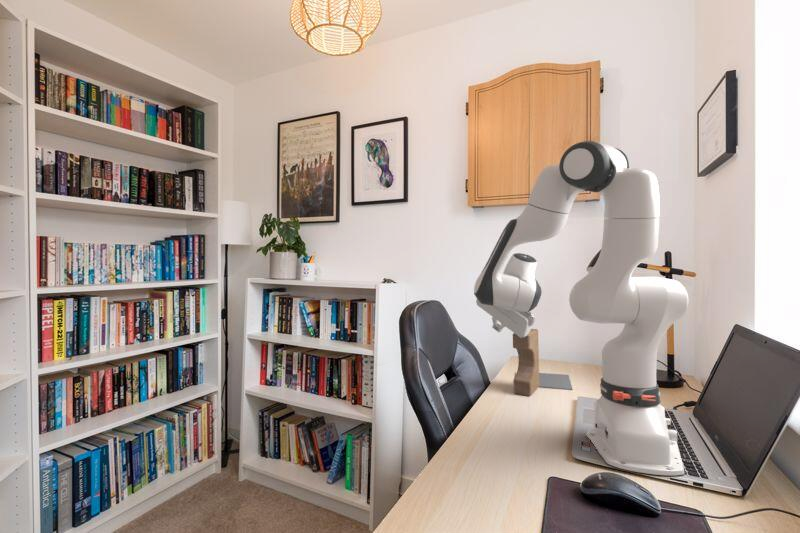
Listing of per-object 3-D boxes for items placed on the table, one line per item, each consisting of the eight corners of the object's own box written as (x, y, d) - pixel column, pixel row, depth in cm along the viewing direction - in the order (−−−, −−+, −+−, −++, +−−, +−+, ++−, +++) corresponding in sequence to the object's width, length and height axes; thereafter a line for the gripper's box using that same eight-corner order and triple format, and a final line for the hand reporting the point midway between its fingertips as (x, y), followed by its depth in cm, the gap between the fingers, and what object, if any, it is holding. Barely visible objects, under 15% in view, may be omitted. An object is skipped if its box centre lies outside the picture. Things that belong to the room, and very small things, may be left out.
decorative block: (530, 396, 125) (529, 335, 124) (513, 393, 128) (511, 333, 128) (540, 386, 134) (538, 329, 134) (523, 384, 137) (522, 327, 137)
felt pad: (572, 390, 131) (572, 388, 131) (513, 385, 137) (513, 384, 137) (568, 375, 148) (568, 374, 148) (516, 372, 154) (516, 371, 154)
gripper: (541, 313, 121) (527, 345, 128) (491, 278, 133) (480, 309, 140) (530, 320, 117) (516, 352, 125) (479, 284, 129) (468, 315, 136)
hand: (496, 329), depth 132 cm, fingers closed
